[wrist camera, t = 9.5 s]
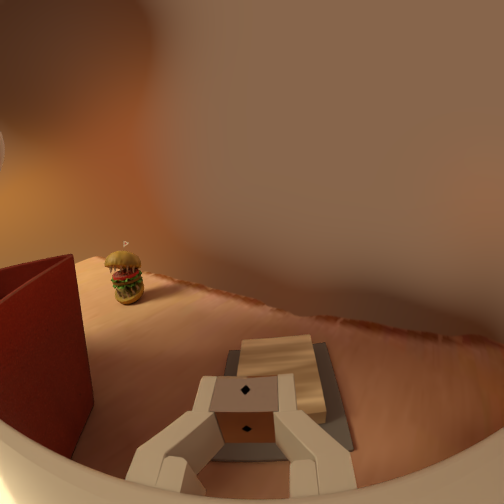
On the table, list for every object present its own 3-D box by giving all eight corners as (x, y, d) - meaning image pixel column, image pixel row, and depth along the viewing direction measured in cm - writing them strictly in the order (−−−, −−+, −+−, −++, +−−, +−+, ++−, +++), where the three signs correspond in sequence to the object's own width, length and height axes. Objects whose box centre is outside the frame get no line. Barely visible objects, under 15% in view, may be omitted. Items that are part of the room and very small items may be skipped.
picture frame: (326, 411, 19) (310, 334, 30) (230, 418, 20) (242, 339, 31) (325, 424, 19) (310, 347, 31) (234, 431, 20) (244, 353, 32)
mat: (353, 451, 16) (353, 449, 16) (208, 460, 17) (206, 458, 17) (325, 344, 32) (325, 342, 31) (229, 352, 33) (229, 350, 32)
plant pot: (26, 374, 26) (-19, 271, 21) (126, 383, 27) (76, 250, 23) (-28, 458, 8) (-109, 334, 3) (84, 517, 9) (-66, 357, 4)
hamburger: (109, 306, 49) (93, 250, 45) (127, 291, 56) (113, 240, 52) (138, 307, 48) (122, 247, 44) (155, 291, 54) (142, 236, 51)
